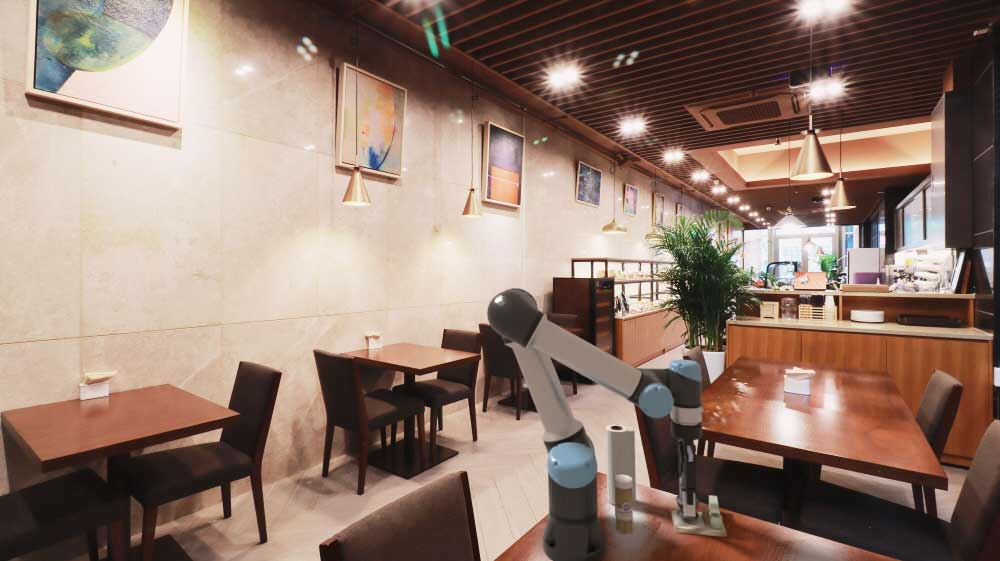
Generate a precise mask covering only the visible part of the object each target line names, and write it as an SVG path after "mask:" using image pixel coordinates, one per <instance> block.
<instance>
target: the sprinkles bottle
mask: <svg viewBox="0 0 1000 561" xmlns="http://www.w3.org/2000/svg"><path fill="white" fill-rule="evenodd" d="M614 485H615V505H614V516H615V517H614V518H615V525H614V528H615V530H616V531H617V532H618V533H621V534H630V533H633V531H634V527H633V526H634V524H633V523H634V522H633V516H634V514H633V513H634V510H633V509H634V508H633V507H634V506H633V505H634V504H632V486H633V482H632V478H631V477H630V476H627V475H616V476H615V477H614Z"/></svg>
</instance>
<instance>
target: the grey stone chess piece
mask: <svg viewBox="0 0 1000 561" xmlns="http://www.w3.org/2000/svg"><path fill="white" fill-rule="evenodd" d="M680 478H681V484H680V483H679V488H680V487H681V488H684V473H683V472H682V474H681V477H680ZM675 501H676V505H677V506H678V508H679V509H677V510H678V511H677V514H678V515H679V516H680V517H682V518H685V519H697V518H698V517H699V514H698V513H697V512H698V511H697V510H698V509H699V506H700V503H701V502H700V500H699V499H698V498H697V497H695V516H696V517H692V516H684V503H683V491H681V495H680V494H679V495H677V496H676V497H675ZM696 511H697V512H696Z"/></svg>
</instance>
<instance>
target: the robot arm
mask: <svg viewBox="0 0 1000 561" xmlns="http://www.w3.org/2000/svg"><path fill="white" fill-rule="evenodd" d="M533 296H534V295H532V294H531V293H530V292H529V291H527V290H525V289H523V288H517V287H513V288H512V287H511V288H509V289H506V290H504V291H502V292H499V293H498V294H496V295H495V296H493V297H492V299H491V300H490V302H489V304H488V306H487V311H486V312H487V313H486V314H487V321H488V323H489V326H490V327H491V329H492V330H493V331H495V332H496V333H497V334H498V335H500V336H501V338H502V341H503V343H504V346H507V347H509V348H511V349H512V352H513V353H514V355H515V358H516V360H517V363H518V365H519V368H520V371H521V373H522V376H523V378H524V381H525V383H526V386H527V389H528V391H529V394H530V396H531V398H532V401H533V404H534V405H535V408H536V411H537V413H538V415H539V418H540V419H539V420H540V421H541V422H542V426H543V428H544V432H543V434H542V436H541V438H542V442H543V443H544V444H543V445H544V446H545V449H546V451H547V460H546V461H547V462H546V469H547V482H548V516H547V521H546V523H545V527H544V529H543V534H542V549H543V551H544V553H545V555H546V556H547V557H549V559H551V560H552V561H601V559H603V558H604V557H605V555H606V552H607V542H606V541H607V540H606V536H605V534H604V530H603V527H602V525H601V522H600V519H599V513H598V510H599V509H598V507H599V506H598V504H599V503H598V460H597V456H596V453H595V452H596V451H595V446H594V444H593V441H592V439H591V438H590V436H589V435H588V433H587V431H586V428H585V426H584V424H583V422H582V421H581V420H578V419H576V418H575V416H574V414H573V412H572V409H571V407H570V403H569V401H568V400H567V396H566V393H565V392H564V389H563V386H562V384H561V381H560V379H559V376H558V373H557V371H556V368H555V366H554V363H553V361H552V359H553V360H555V361H557V362H558V363H560V364H562V365H563V366H566V367H567V368H569V369H571V370H573V371H574V372H576V373H578V374H580V375H581V376H583V377H585V378H588V379H589V380H591V381H592V382H594V383H596V384H598V385H600V386H602V387H603V388H605V389H607V390H609V391H610V392H612V393H614V394H616V395H617V396H620V398H623V399H625V400H626V401H627V402H630V403H631V404H633V405H634V406H637V407H638V408H639V409H640V410H641V411H642V412H643V413H644V415H646V416H648V417H650V418H652V419H661V418H662V419H663V418H664V417H667V416H668V415H669V414H670V419H671V420H670V433H671V436H673V437H675V438H676V439H677V450H678V451H677V452H678V454H677V455H678V468H677V469H678V472H679V474H678V475H679V485H680V484H681V474H682V472H683V473H684V488H681V487H680V486H679V495H681V491H683V503H684V516H692V517H696V516H695V498H696V494H697V493H698V489H697V488H698V487H697V458H698V456H697V454H696V452H697V447H696V446H697V445H696V444H695V442H694V441H696V440H700V439H701V438H702V437H703V423H702V422H701V421H702V420H703V418H702V413H704V412H705V409H704V408H702V406H703V405H702V389H703V388H702V385H703V384H702V382H703V379H702V368H701V364H700V363H699V362H698V361H695V360H690V359H673V360H671V361H670V362H669V366H668V368H667V367H666V368H639V367H633V366H631V365H630V364H628V363H626V362H624V361H623V360H621V359H619V358H617V357H616V356H614V355H612V354H610V353H608V352H606V351H604V350H602V349H601V348H599V347H597V346H596V345H593V344H592V343H590V342H588V341H586V340H585V339H583V338H581V337H579V336H577V335H575V334H573V333H572V332H570V331H568V330H566V329H565V328H563V327H561V326H559V325H557V324H555V323H554V322H552V321H550V320H548V318H547V317H548V316H547V314H546V313H544V312H542V311H540V310H539V307H538V303H537V300H536V299H535V297H533ZM551 358H552V359H551Z"/></svg>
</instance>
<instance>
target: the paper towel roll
mask: <svg viewBox="0 0 1000 561" xmlns="http://www.w3.org/2000/svg"><path fill="white" fill-rule="evenodd" d="M635 432H636V431H635V430H628V427H627V426H624V425H621V424H609V425H607V426H605V446H606V448H605V450H606V457H605V458H606V491H607V492H606V494H607V495H606V496H607V502H608V503H609V504H612V505H614V506H615V485H614V477H615V476H616V475H627V476H630V477H631V478H632V482H633V486H632V504H633V505H634V506H635V505H637V489H636V485H637V482H636V480H637V479H636V443H635V442H636V438H635V436H636V435H635Z"/></svg>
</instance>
